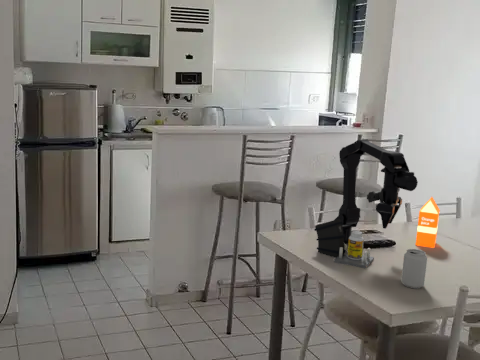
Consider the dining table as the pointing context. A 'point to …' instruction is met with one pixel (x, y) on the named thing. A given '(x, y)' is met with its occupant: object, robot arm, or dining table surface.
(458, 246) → the dining table surface
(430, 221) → the orange juice
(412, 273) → the can
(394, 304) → the dining table surface
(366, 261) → the grey stand
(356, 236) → the supplement bottle
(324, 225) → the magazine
